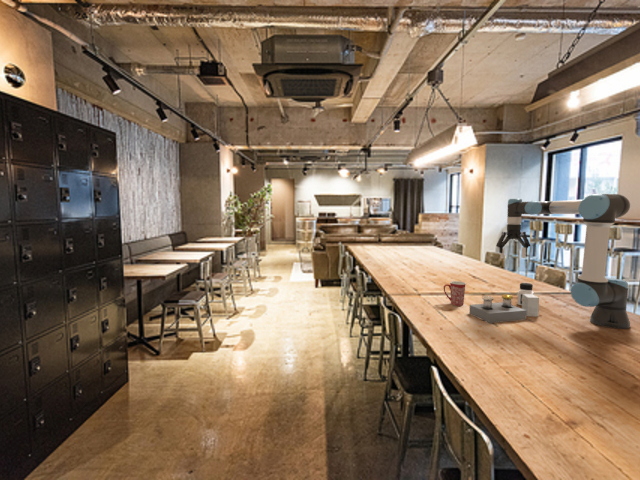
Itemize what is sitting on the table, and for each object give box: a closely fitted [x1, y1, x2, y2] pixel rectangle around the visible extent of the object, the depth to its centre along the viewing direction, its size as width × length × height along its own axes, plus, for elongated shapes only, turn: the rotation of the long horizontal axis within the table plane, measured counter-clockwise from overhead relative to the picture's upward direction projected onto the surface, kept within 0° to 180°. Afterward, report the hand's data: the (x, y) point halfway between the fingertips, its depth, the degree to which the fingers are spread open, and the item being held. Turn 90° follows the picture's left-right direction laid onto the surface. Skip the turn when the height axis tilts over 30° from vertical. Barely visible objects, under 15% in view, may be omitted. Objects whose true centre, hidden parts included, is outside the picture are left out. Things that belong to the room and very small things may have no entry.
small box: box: [521, 294, 540, 317], centre depth 184 cm, size 8×6×10 cm
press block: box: [468, 301, 527, 324], centre depth 181 cm, size 16×22×5 cm
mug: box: [443, 280, 467, 307], centre depth 206 cm, size 13×9×14 cm
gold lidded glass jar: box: [501, 293, 514, 308], centre depth 182 cm, size 5×5×7 cm
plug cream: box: [482, 295, 494, 310], centre depth 180 cm, size 5×5×7 cm
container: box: [516, 282, 535, 306], centre depth 203 cm, size 8×8×13 cm
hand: (512, 258), depth 208 cm, fingers open, 13 cm apart
